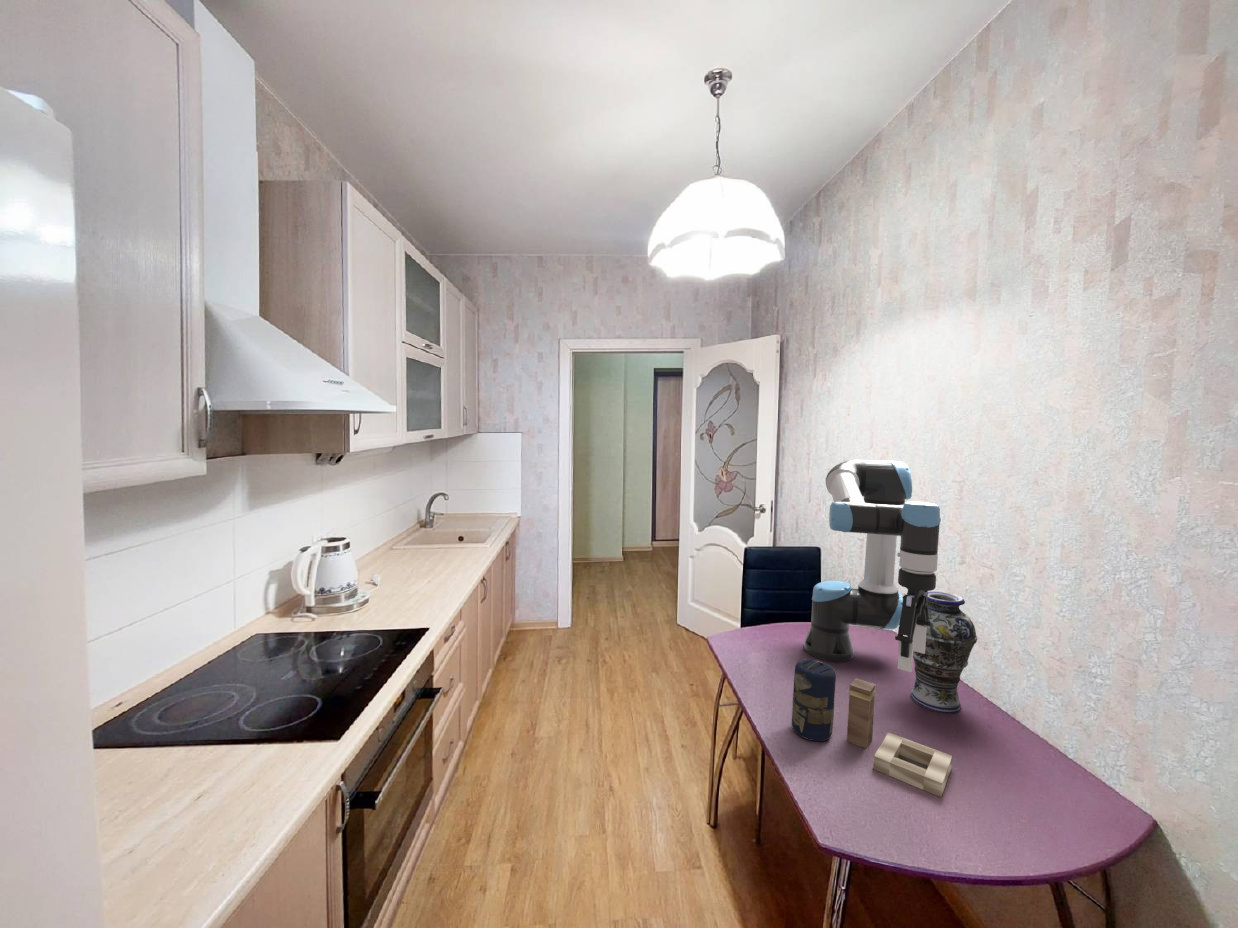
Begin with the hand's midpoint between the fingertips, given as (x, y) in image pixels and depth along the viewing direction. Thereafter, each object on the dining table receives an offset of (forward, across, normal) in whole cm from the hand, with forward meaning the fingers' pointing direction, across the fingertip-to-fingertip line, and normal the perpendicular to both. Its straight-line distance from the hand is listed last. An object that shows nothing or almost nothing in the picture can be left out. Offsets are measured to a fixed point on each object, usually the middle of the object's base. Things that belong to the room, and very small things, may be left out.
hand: (911, 660), depth 121 cm
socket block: (+22, +6, +3) cm, 23 cm away
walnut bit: (+22, +3, -9) cm, 24 cm away
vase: (+21, -30, +1) cm, 37 cm away
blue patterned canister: (+22, +8, -19) cm, 30 cm away
